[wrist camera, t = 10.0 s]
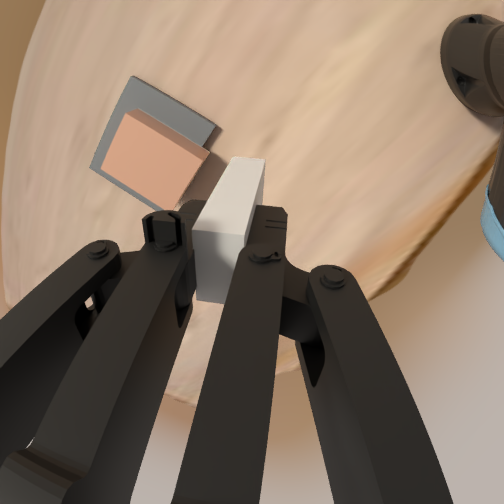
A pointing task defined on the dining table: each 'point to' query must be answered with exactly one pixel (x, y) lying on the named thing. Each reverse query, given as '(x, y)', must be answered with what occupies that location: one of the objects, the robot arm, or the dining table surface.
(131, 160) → the terracotta block
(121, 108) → the slate mat
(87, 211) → the dining table surface
